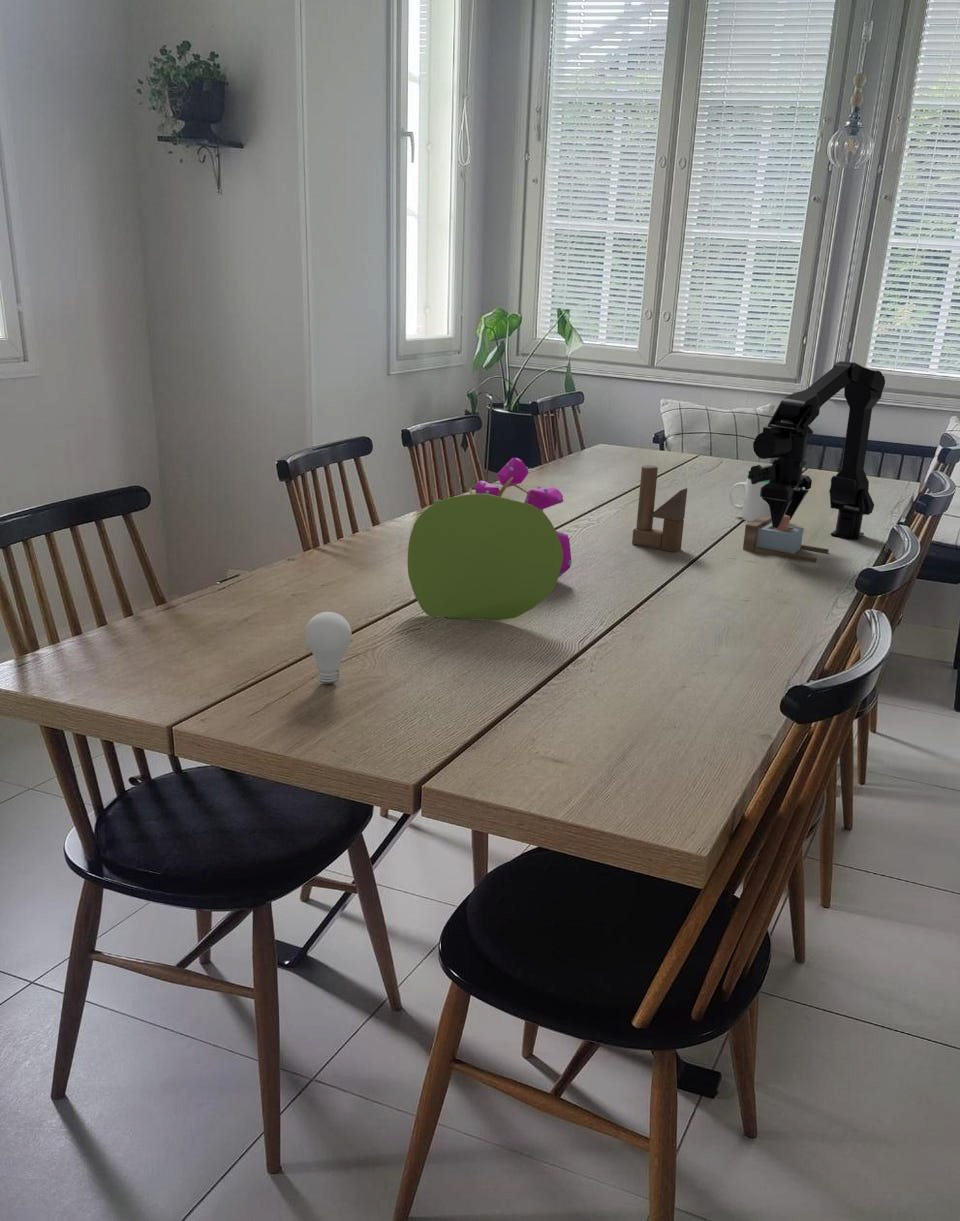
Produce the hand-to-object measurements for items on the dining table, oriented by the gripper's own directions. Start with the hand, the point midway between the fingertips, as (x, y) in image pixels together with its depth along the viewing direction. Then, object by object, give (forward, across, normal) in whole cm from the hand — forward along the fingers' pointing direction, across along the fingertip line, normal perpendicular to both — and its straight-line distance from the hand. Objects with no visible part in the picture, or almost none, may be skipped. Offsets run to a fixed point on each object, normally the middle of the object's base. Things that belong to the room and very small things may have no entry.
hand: (781, 523), depth 228 cm
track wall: (+6, 0, +2) cm, 6 cm away
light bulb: (+6, +122, -28) cm, 125 cm away
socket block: (+6, 0, 0) cm, 6 cm away
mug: (+6, -28, -16) cm, 33 cm away
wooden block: (+6, +16, -23) cm, 29 cm away
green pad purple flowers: (+6, +68, -34) cm, 76 cm away
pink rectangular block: (+5, 0, 0) cm, 5 cm away
